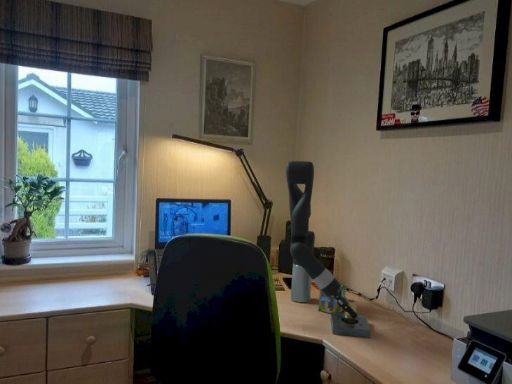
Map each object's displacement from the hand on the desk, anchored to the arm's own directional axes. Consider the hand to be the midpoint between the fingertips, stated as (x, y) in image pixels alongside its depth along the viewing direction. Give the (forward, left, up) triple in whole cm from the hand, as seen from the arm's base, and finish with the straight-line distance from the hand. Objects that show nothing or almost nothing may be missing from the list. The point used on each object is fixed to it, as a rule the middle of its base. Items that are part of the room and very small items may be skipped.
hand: (355, 314), depth 164 cm
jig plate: (0, -2, -6) cm, 6 cm away
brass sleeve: (0, -2, -4) cm, 4 cm away
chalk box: (-19, -8, -6) cm, 21 cm away
